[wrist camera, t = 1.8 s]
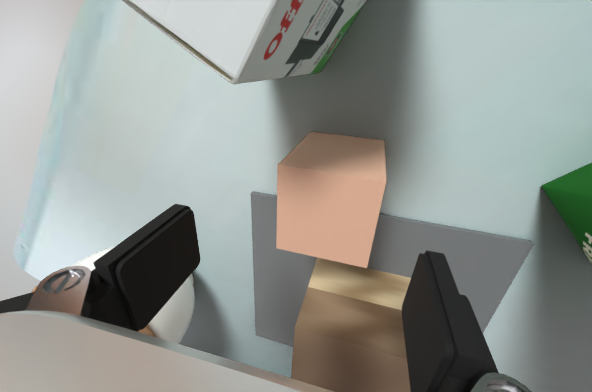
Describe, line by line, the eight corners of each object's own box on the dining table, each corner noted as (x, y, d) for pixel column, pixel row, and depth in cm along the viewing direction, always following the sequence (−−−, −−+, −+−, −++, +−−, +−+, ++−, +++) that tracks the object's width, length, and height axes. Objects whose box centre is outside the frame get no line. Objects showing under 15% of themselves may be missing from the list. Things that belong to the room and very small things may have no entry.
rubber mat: (530, 240, 18) (533, 244, 17) (447, 389, 26) (447, 393, 26) (253, 191, 22) (251, 193, 22) (257, 332, 31) (255, 335, 30)
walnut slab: (422, 315, 18) (430, 366, 15) (396, 381, 22) (399, 433, 19) (307, 286, 20) (294, 326, 17) (301, 352, 24) (290, 395, 21)
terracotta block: (384, 140, 18) (386, 181, 12) (370, 205, 20) (366, 268, 14) (310, 131, 19) (277, 164, 13) (306, 194, 21) (276, 248, 15)
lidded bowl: (171, 319, 35) (91, 417, 25) (101, 246, 32) (-19, 324, 22) (237, 296, 29) (167, 412, 19) (159, 203, 26) (30, 285, 16)
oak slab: (416, 279, 21) (422, 315, 18) (394, 342, 25) (396, 381, 22) (317, 257, 23) (307, 286, 20) (310, 319, 27) (301, 352, 24)
